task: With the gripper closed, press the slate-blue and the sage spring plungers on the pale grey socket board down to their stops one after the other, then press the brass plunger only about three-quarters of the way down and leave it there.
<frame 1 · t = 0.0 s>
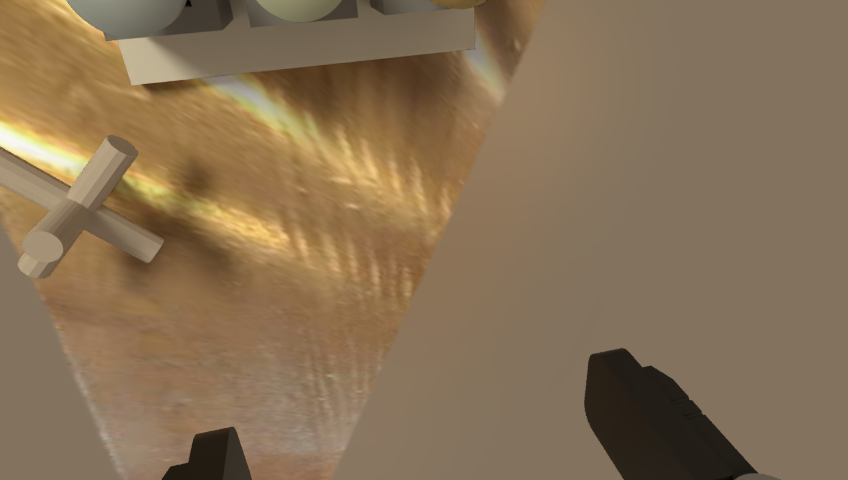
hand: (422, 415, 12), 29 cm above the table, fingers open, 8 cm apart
pipe connector: (103, 177, 36), on the table
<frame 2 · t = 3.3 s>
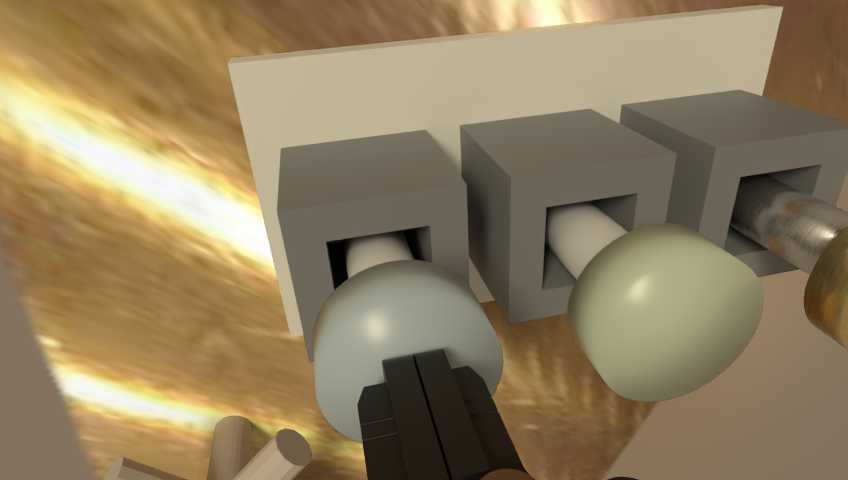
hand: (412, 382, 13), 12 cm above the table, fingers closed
slate plug: (386, 287, 17), point 8 cm above the table, slide at 1.1 cm, touching gripper
socket board: (514, 171, 24), on the table
sage plug: (601, 255, 17), point 8 cm above the table, slide at 0.8 cm
pipe connector: (234, 426, 28), on the table
brass plug: (808, 233, 18), point 9 cm above the table, slide at 0.0 cm
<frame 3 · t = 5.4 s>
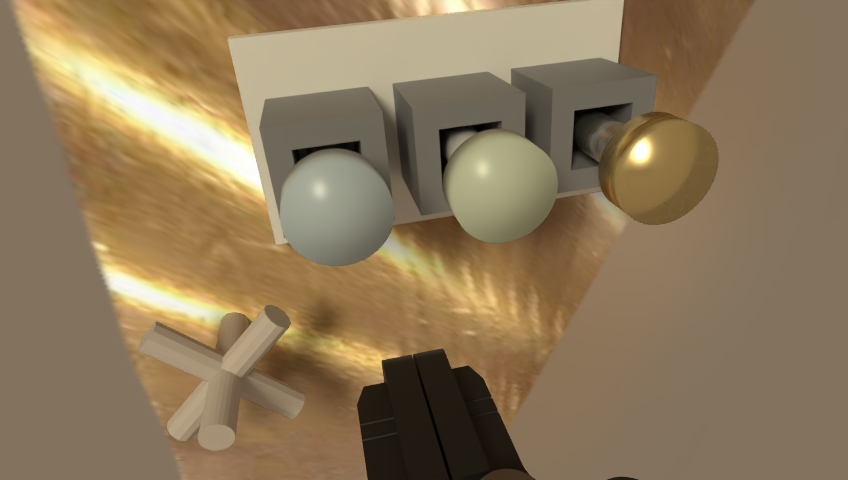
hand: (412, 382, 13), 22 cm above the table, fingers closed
slate plug: (332, 180, 25), point 7 cm above the table, slide at 1.2 cm
socket board: (438, 120, 33), on the table
sage plug: (476, 162, 26), point 8 cm above the table, slide at 0.8 cm
pipe connector: (235, 322, 36), on the table
brass plug: (618, 146, 26), point 9 cm above the table, slide at 0.0 cm
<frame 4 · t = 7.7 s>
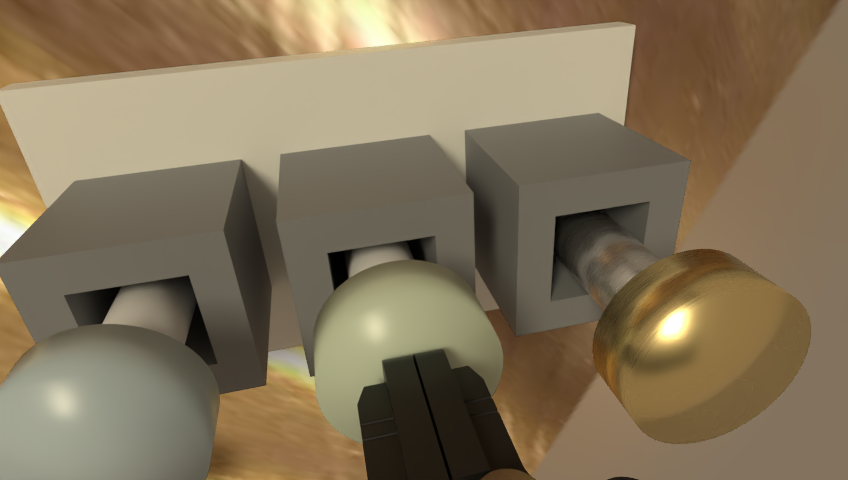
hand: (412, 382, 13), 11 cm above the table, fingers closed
slate plug: (142, 341, 15), point 7 cm above the table, slide at 1.2 cm
socket board: (361, 199, 22), on the table
sage plug: (386, 287, 17), point 7 cm above the table, slide at 1.8 cm, touching gripper
brass plug: (625, 279, 16), point 9 cm above the table, slide at 0.0 cm
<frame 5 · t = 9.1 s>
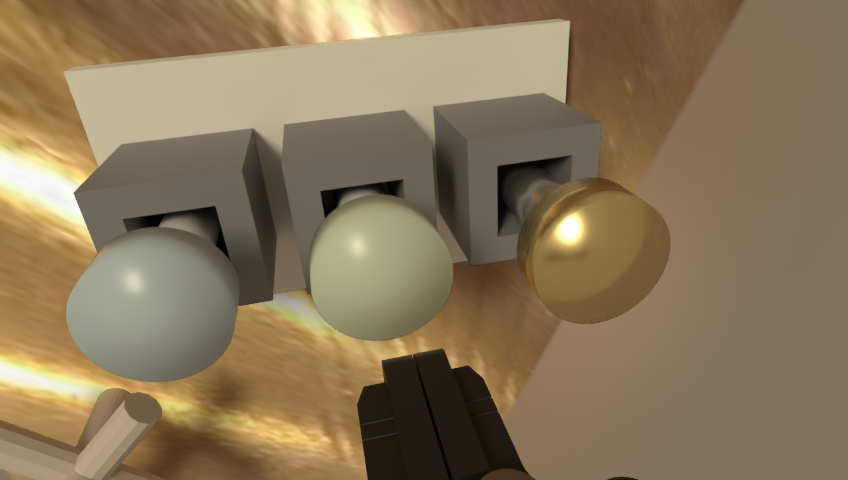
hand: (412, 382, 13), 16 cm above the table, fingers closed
slate plug: (179, 256, 20), point 7 cm above the table, slide at 1.2 cm
socket board: (350, 165, 27), on the table
sage plug: (368, 227, 21), point 7 cm above the table, slide at 1.2 cm
pipe connector: (116, 398, 31), on the table
brass plug: (550, 212, 21), point 9 cm above the table, slide at 0.0 cm
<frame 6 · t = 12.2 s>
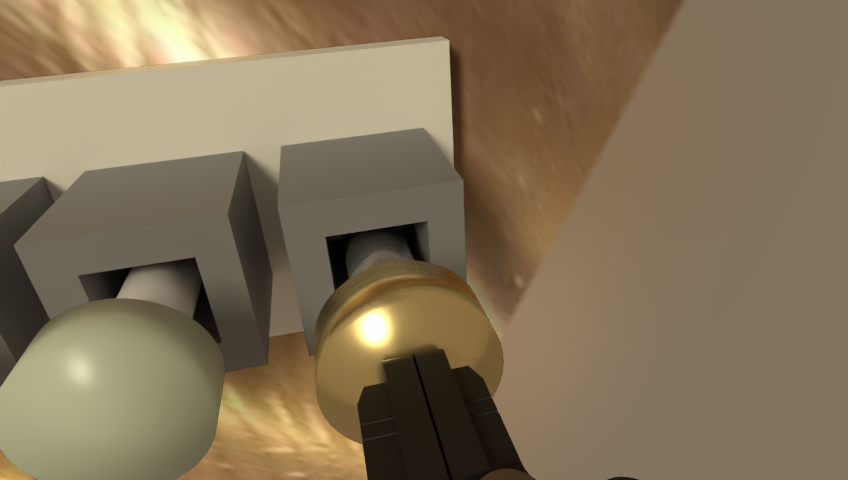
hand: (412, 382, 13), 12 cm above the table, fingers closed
socket board: (191, 214, 22), on the table
sage plug: (151, 319, 16), point 7 cm above the table, slide at 1.2 cm
brass plug: (386, 288, 17), point 8 cm above the table, slide at 0.7 cm, touching gripper
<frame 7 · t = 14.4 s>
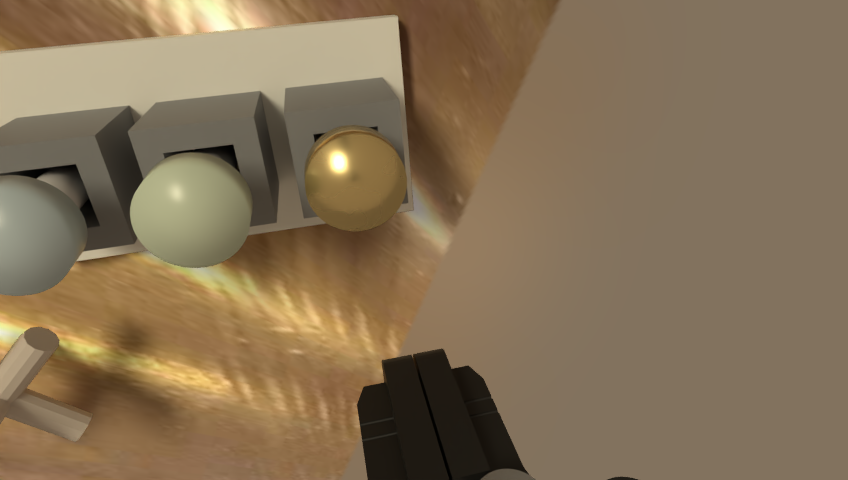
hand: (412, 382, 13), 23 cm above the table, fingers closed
slate plug: (48, 204, 25), point 7 cm above the table, slide at 1.2 cm
socket board: (223, 138, 32), on the table
sage plug: (205, 183, 26), point 7 cm above the table, slide at 1.2 cm
pipe connector: (35, 340, 36), on the table
brass plug: (348, 156, 28), point 6 cm above the table, slide at 2.3 cm
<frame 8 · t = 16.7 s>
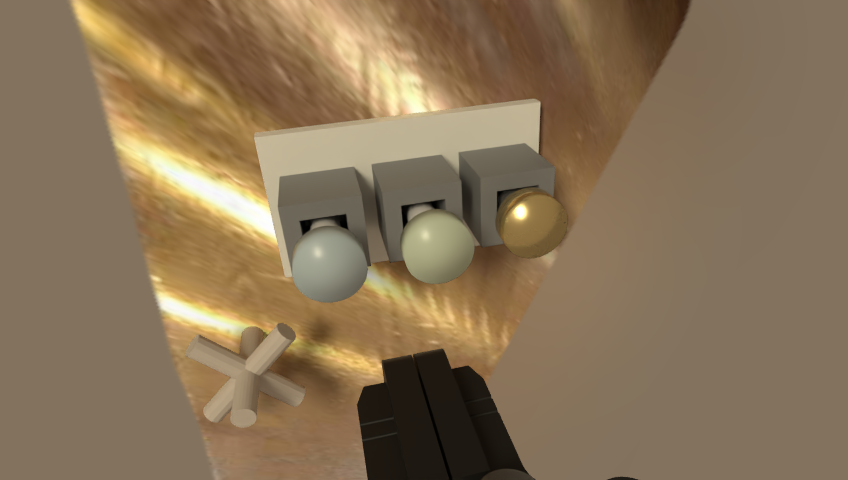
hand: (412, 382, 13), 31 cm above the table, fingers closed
slate plug: (326, 240, 37), point 7 cm above the table, slide at 1.2 cm
socket board: (406, 186, 44), on the table
sage plug: (426, 225, 38), point 7 cm above the table, slide at 1.2 cm
pipe connector: (252, 333, 48), on the table
brass plug: (514, 204, 40), point 6 cm above the table, slide at 2.3 cm
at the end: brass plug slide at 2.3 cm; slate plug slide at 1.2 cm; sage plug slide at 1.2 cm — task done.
